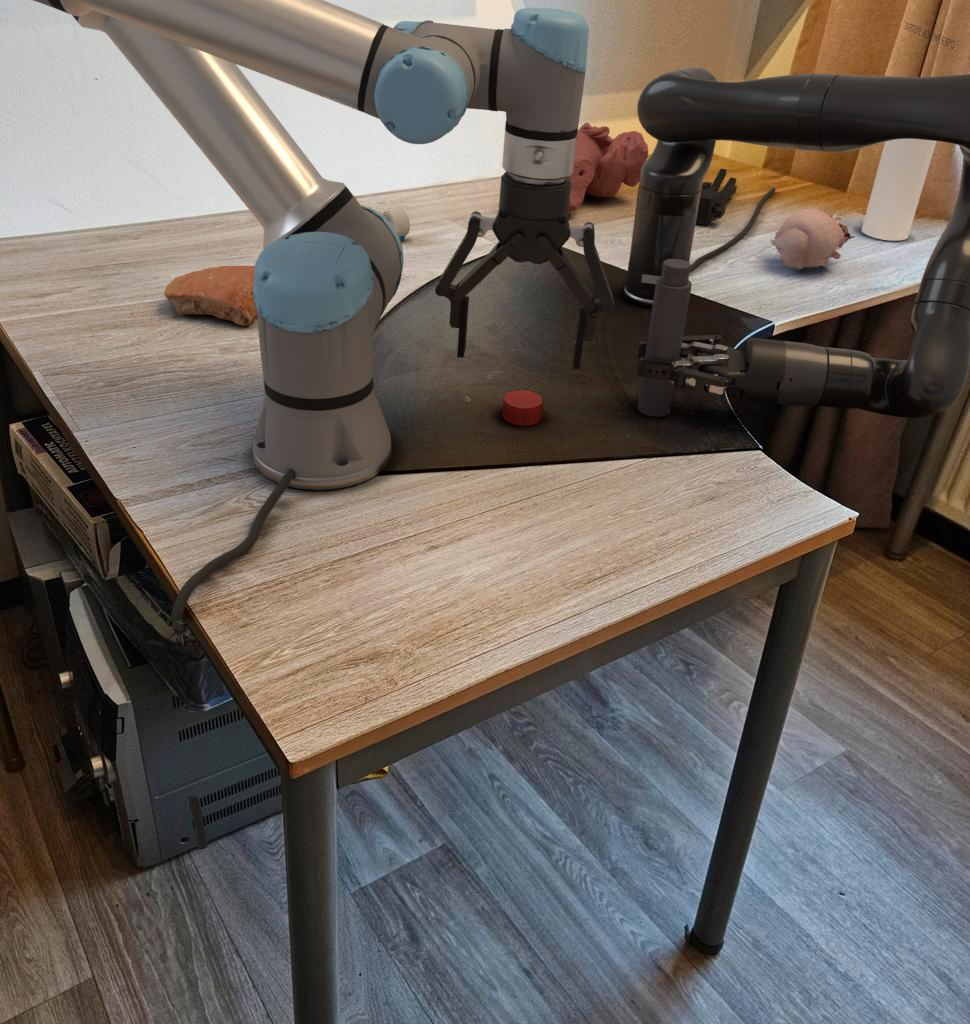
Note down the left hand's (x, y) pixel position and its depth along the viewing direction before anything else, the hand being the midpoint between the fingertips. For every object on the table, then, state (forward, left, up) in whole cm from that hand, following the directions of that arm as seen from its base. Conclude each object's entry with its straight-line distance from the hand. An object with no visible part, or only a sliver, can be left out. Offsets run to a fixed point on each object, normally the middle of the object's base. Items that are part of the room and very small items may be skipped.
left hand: (518, 358), depth 113 cm
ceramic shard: (+16, +50, -8) cm, 53 cm away
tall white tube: (+99, -43, -8) cm, 108 cm away
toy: (+73, -30, -8) cm, 79 cm away
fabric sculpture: (+89, +16, -8) cm, 91 cm away
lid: (0, -1, -6) cm, 6 cm away
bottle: (+9, -16, -8) cm, 19 cm away
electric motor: (+53, +39, -8) cm, 66 cm away
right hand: (+8, -13, -1) cm, 15 cm away
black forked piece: (+102, -10, -8) cm, 102 cm away
